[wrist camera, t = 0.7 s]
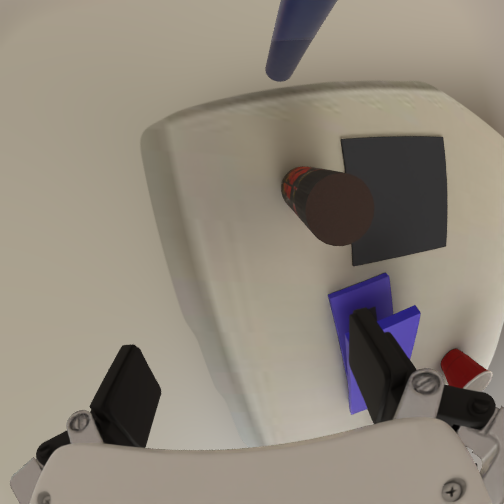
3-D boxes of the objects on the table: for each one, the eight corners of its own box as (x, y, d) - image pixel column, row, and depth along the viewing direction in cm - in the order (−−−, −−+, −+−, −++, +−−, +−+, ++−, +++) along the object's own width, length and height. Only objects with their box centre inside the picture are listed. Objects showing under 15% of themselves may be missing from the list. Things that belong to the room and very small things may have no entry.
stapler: (388, 271, 39) (420, 300, 30) (395, 382, 48) (413, 414, 39) (321, 296, 40) (340, 334, 31) (346, 402, 49) (359, 437, 40)
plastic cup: (423, 375, 48) (446, 411, 37) (449, 337, 45) (479, 370, 34) (448, 377, 50) (470, 408, 38) (472, 342, 46) (499, 371, 35)
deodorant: (323, 164, 34) (372, 170, 20) (327, 208, 36) (374, 241, 22) (278, 168, 34) (301, 175, 20) (284, 213, 36) (308, 250, 22)
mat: (340, 139, 33) (341, 139, 32) (441, 137, 32) (443, 137, 32) (352, 265, 39) (353, 266, 38) (444, 245, 38) (446, 246, 38)
